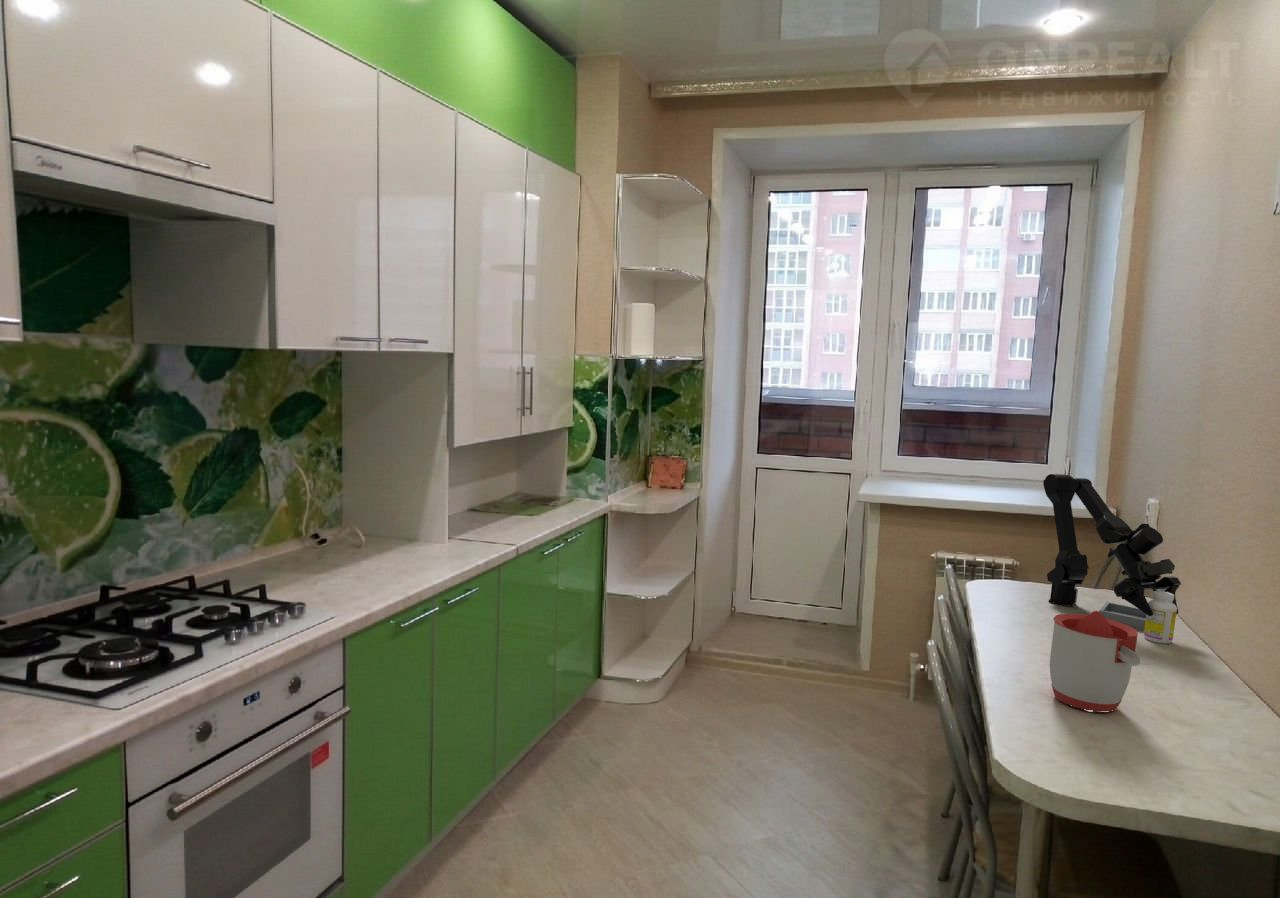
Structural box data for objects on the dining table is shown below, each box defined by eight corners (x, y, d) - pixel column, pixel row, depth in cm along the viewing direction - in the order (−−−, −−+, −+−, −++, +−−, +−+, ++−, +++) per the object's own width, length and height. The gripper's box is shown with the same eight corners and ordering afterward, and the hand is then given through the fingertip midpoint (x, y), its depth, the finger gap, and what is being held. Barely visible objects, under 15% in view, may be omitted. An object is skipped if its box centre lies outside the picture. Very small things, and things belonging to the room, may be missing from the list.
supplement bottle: (1164, 637, 231) (1171, 591, 229) (1177, 645, 224) (1184, 597, 223) (1138, 634, 231) (1145, 588, 230) (1150, 643, 225) (1157, 595, 223)
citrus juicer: (1103, 727, 168) (1116, 628, 166) (1027, 693, 184) (1039, 602, 181) (1151, 716, 176) (1165, 621, 173) (1075, 684, 191) (1086, 597, 188)
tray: (1097, 620, 242) (1099, 610, 242) (1105, 611, 252) (1106, 601, 252) (1149, 631, 235) (1150, 621, 234) (1154, 622, 245) (1156, 611, 245)
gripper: (1128, 548, 226) (1161, 601, 217) (1179, 547, 233) (1213, 598, 224) (1099, 570, 234) (1129, 621, 225) (1149, 568, 241) (1180, 618, 232)
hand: (1164, 614), depth 226 cm, fingers open, 9 cm apart
